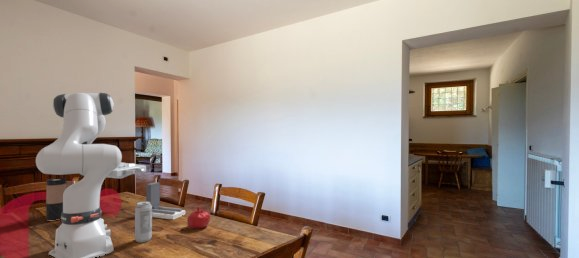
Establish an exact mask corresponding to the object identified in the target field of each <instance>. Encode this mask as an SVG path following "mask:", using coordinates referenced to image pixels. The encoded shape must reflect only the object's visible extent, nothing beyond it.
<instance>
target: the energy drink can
mask: <svg viewBox="0 0 579 258" xmlns="http://www.w3.org/2000/svg"><path fill="white" fill-rule="evenodd" d="M152 235H153V217H152V205H151V204H150V202H148V201H139V202H137V203H136V205H135V207H134V240H135V241H136V243H140V244H141V243H146V242H149V241H151V238H152Z"/></svg>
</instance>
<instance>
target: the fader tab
mask: <svg viewBox="0 0 579 258" xmlns="http://www.w3.org/2000/svg"><path fill="white" fill-rule="evenodd" d="M160 187H161V184H160V182H157V181H155V182H151V183H147V184H146V192H145V193H146V194H145V195H146V198H145V199H146V201H148V202H150V204H151V205H152V209H157V210H158V209H159V206H161V205H160V204H161V203H160V201H161V198H160V197H161V196H160V195H161V194H160V193H161V191H160V190H161V188H160Z"/></svg>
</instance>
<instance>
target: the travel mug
mask: <svg viewBox="0 0 579 258" xmlns="http://www.w3.org/2000/svg"><path fill="white" fill-rule="evenodd" d="M66 188H67V177H59V178H57V179H54V178H49V179H46V190H45V191H46V194H45V196H46V198H45V199H46V200H45V204H46V205H45V206H46V207H45V208H46V210H45V211H46V221H47V220H56V219H60V218H61V214H62V212H63V193H64V191H65V189H66Z"/></svg>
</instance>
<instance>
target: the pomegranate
mask: <svg viewBox="0 0 579 258" xmlns="http://www.w3.org/2000/svg"><path fill="white" fill-rule="evenodd" d="M196 208H197V209H191V211H192V212H191V213H190V214H189V215H188V217H187V220H186V221H187V227H189V228H190V229H195V230H198V229H204V228H206V227H207V226H208V225H209V224H210V222H211V221H210V220H211V215H210V213H209V212H208V211H206V210H205V209H204V208H203V209H200V206H196Z"/></svg>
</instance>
